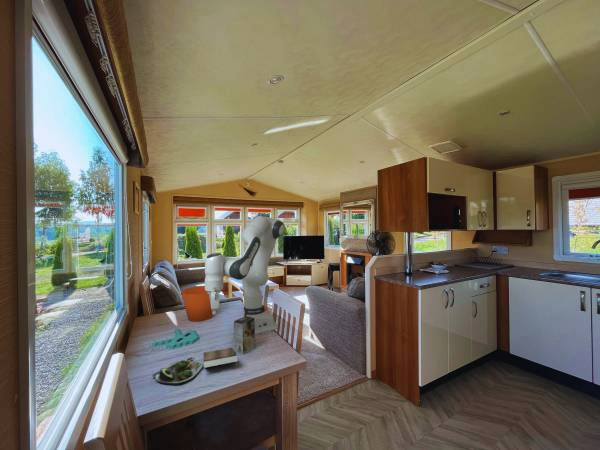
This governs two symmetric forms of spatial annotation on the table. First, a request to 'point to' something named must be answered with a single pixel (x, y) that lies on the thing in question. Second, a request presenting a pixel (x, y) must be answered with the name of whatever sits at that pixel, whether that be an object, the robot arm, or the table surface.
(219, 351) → the walnut board
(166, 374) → the salad plate
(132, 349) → the table surface
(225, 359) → the grey plank
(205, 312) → the flowerpot
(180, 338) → the alien figure
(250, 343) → the coffee box
